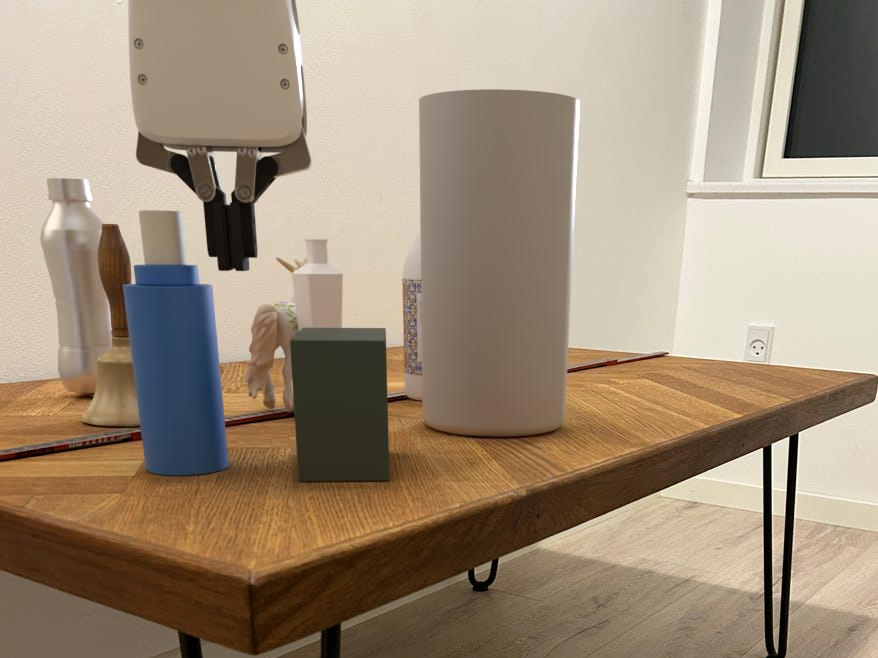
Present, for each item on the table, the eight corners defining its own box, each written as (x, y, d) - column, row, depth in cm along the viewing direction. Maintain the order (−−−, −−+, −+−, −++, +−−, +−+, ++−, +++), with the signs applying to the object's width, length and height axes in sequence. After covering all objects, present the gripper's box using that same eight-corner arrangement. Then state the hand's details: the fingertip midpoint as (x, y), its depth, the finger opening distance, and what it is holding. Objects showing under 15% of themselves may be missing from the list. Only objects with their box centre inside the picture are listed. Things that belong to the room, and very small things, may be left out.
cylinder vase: (451, 442, 76) (452, 84, 66) (404, 417, 86) (398, 106, 77) (589, 433, 80) (609, 96, 70) (528, 411, 91) (537, 115, 81)
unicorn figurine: (351, 391, 102) (346, 257, 97) (326, 421, 84) (318, 260, 79) (285, 390, 102) (276, 257, 97) (245, 420, 84) (232, 259, 79)
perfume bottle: (343, 410, 90) (336, 239, 84) (356, 417, 86) (349, 239, 80) (295, 412, 88) (285, 238, 83) (306, 420, 85) (296, 238, 79)
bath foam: (423, 391, 103) (421, 187, 95) (481, 395, 100) (484, 186, 92) (392, 399, 97) (387, 183, 89) (453, 404, 94) (453, 182, 86)
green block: (298, 481, 62) (289, 340, 59) (309, 451, 72) (302, 327, 68) (389, 481, 63) (385, 340, 60) (388, 451, 72) (385, 327, 69)
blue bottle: (162, 510, 65) (2, 291, 58) (179, 491, 70) (32, 287, 64) (307, 423, 63) (158, 189, 57) (313, 410, 68) (177, 194, 62)
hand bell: (165, 409, 89) (144, 225, 83) (191, 422, 83) (171, 224, 77) (72, 416, 85) (43, 223, 79) (93, 430, 79) (62, 221, 72)
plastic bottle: (69, 391, 99) (37, 180, 92) (136, 390, 101) (110, 182, 93) (55, 400, 94) (20, 176, 86) (126, 399, 95) (98, 178, 87)
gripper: (340, -45, 59) (351, 270, 66) (93, -56, 57) (131, 267, 64) (334, -84, 52) (347, 273, 59) (53, -98, 51) (100, 270, 58)
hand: (234, 269), depth 62 cm, fingers closed
